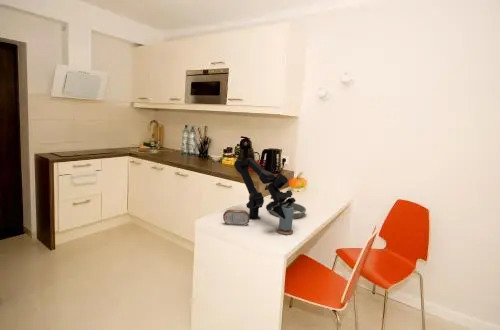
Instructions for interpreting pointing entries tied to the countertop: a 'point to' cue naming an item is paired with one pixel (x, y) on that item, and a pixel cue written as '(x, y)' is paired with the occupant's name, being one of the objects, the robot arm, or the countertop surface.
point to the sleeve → (286, 218)
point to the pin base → (284, 231)
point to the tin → (236, 217)
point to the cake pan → (296, 208)
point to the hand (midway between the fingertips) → (288, 217)
